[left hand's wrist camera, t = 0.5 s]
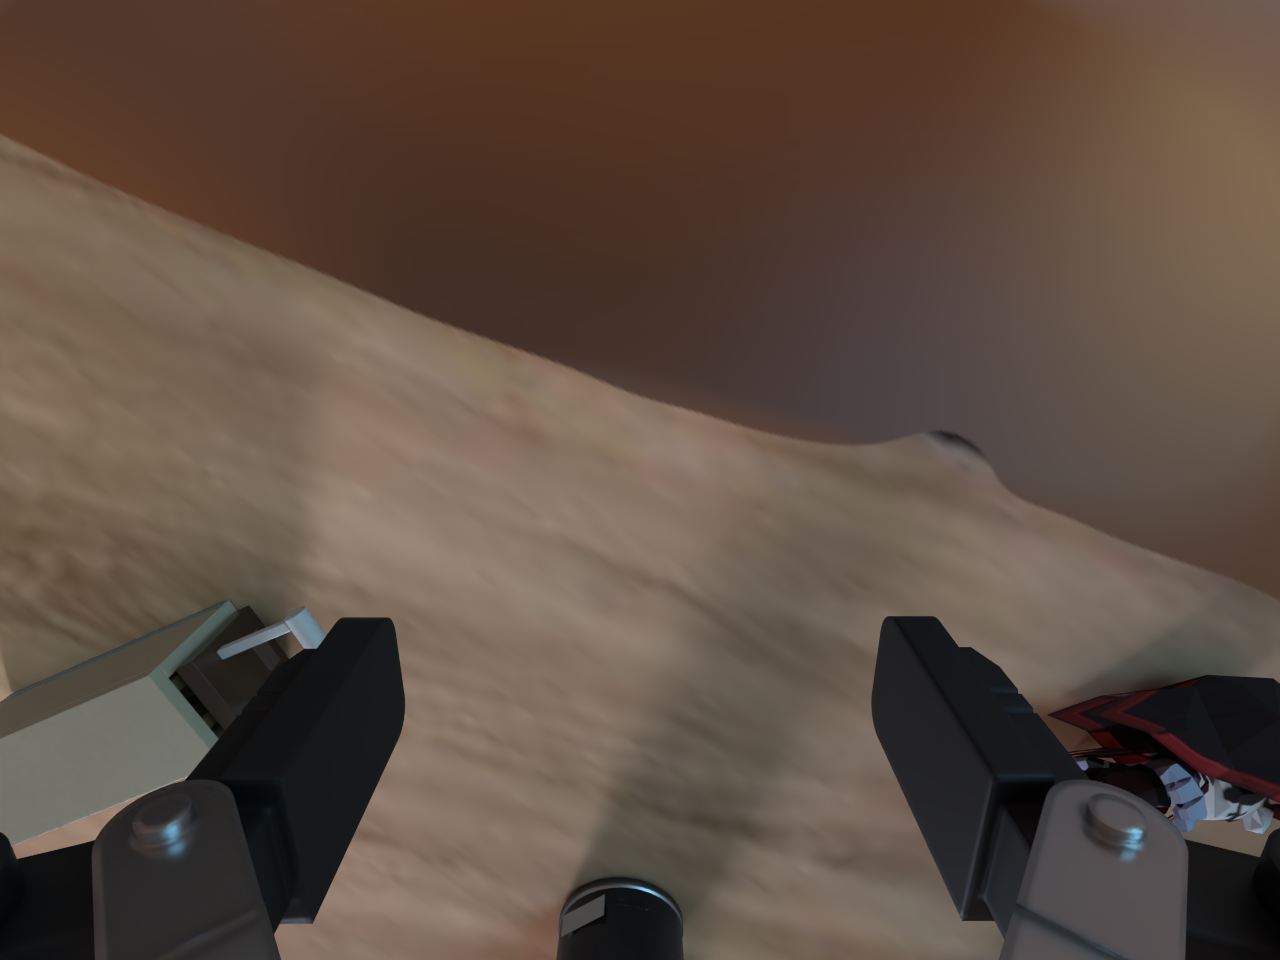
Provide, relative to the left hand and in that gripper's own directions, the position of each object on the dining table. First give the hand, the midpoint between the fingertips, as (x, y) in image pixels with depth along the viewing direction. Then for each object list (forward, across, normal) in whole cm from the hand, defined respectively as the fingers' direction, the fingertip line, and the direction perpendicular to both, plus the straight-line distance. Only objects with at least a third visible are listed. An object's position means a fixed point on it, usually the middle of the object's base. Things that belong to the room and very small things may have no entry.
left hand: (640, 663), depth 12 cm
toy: (+29, +33, -24) cm, 50 cm away
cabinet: (+29, -32, -22) cm, 48 cm away
